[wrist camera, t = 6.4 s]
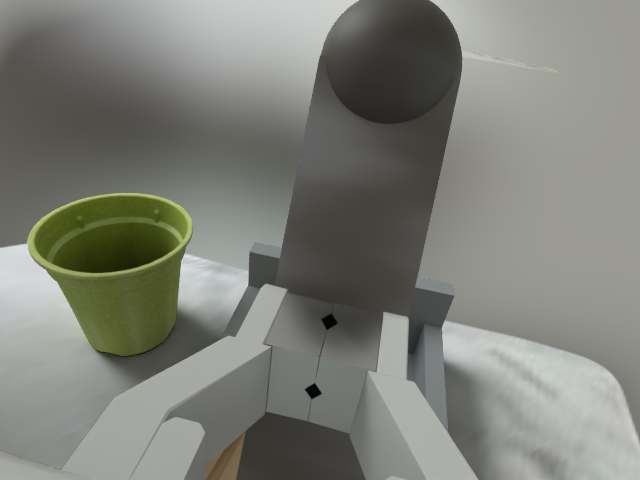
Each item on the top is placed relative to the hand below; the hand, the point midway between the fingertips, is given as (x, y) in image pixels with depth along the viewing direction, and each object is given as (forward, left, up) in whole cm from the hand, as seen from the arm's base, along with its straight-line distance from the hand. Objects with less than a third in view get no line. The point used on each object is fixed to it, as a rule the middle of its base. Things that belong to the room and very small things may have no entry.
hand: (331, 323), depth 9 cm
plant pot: (-15, +14, -19) cm, 28 cm away
